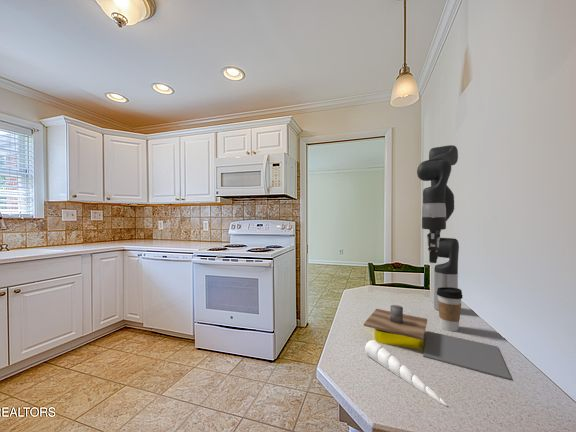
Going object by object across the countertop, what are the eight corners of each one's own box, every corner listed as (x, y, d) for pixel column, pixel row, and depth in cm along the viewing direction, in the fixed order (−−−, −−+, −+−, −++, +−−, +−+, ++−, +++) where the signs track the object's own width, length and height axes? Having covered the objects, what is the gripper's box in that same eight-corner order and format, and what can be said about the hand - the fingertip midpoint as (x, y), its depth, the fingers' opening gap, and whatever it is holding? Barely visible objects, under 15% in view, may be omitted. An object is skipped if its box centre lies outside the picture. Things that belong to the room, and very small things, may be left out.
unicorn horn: (435, 413, 53) (435, 390, 53) (363, 356, 75) (363, 340, 76) (450, 407, 55) (451, 385, 55) (375, 353, 77) (376, 337, 77)
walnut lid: (376, 310, 101) (376, 296, 101) (427, 321, 92) (427, 305, 92) (363, 325, 86) (364, 308, 86) (423, 340, 76) (423, 321, 76)
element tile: (425, 351, 79) (425, 336, 79) (374, 343, 84) (375, 329, 84) (416, 331, 93) (416, 318, 93) (374, 325, 98) (374, 313, 98)
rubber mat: (426, 332, 92) (426, 330, 92) (497, 347, 82) (497, 346, 82) (423, 356, 75) (423, 355, 75) (511, 380, 65) (511, 378, 65)
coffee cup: (466, 334, 91) (467, 292, 91) (441, 331, 93) (441, 290, 93) (456, 324, 99) (456, 286, 100) (432, 322, 101) (433, 285, 101)
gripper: (423, 216, 98) (423, 257, 99) (420, 216, 86) (420, 263, 87) (446, 216, 94) (446, 259, 94) (445, 216, 82) (445, 265, 82)
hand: (433, 260), depth 90 cm, fingers open, 8 cm apart
